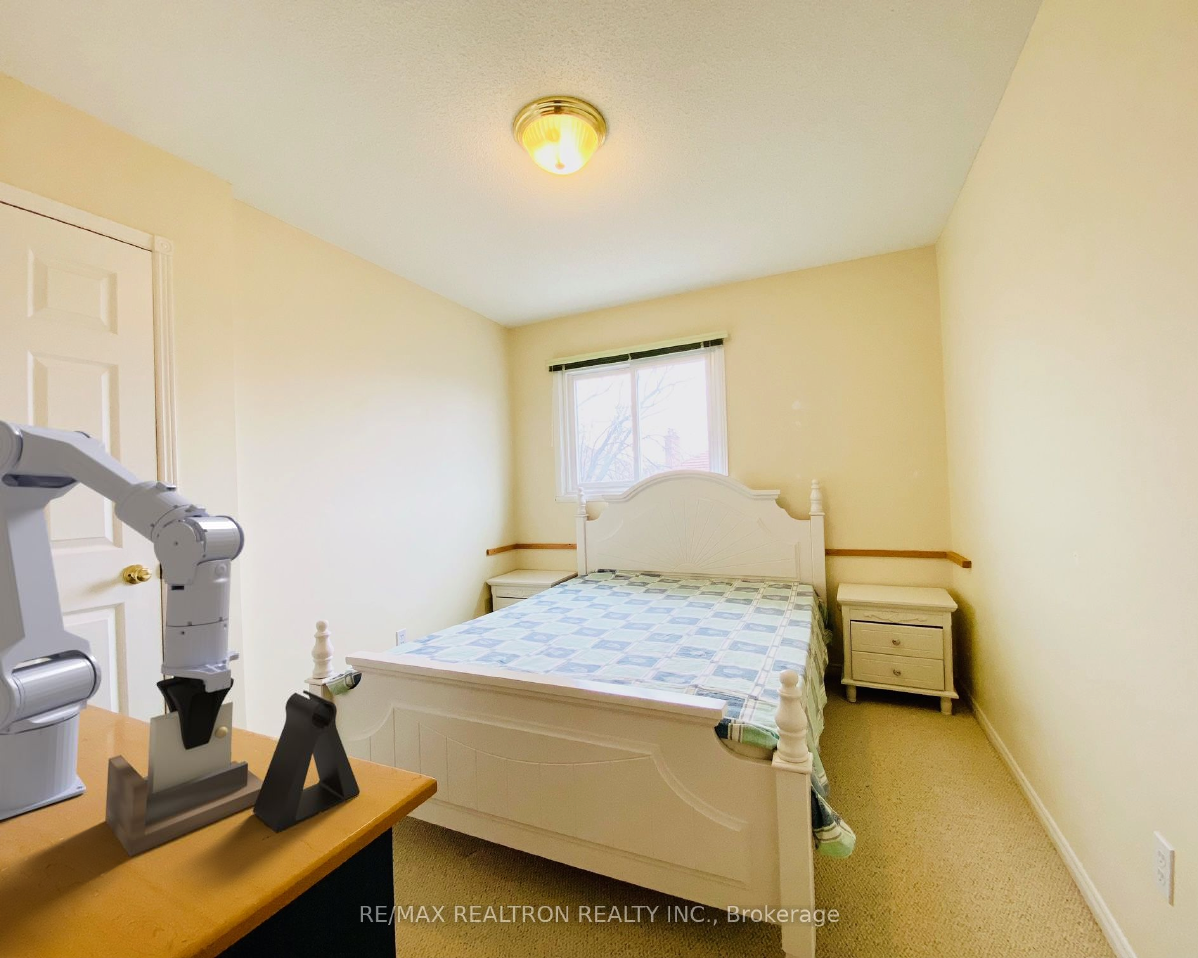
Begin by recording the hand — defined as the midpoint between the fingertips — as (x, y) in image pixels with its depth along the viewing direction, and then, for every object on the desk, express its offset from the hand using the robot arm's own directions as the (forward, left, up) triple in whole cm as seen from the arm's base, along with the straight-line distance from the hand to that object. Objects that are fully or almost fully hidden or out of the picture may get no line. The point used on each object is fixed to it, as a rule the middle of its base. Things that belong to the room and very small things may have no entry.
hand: (192, 742), depth 57 cm
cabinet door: (0, 0, -4) cm, 4 cm away
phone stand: (+10, +8, -8) cm, 15 cm away
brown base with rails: (0, 0, -7) cm, 7 cm away
